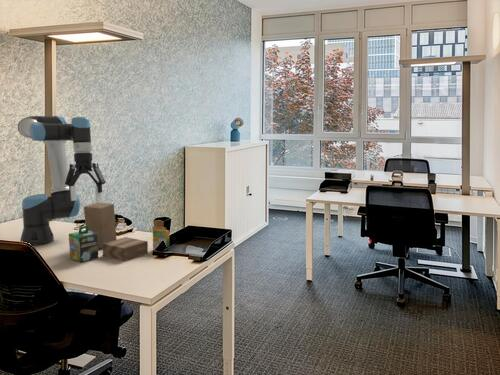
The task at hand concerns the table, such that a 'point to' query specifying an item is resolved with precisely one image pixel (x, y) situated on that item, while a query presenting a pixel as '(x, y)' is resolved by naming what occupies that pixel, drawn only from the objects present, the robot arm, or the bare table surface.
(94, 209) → the wooden block
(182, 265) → the table surface
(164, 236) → the crayon box
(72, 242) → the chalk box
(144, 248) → the walnut block
